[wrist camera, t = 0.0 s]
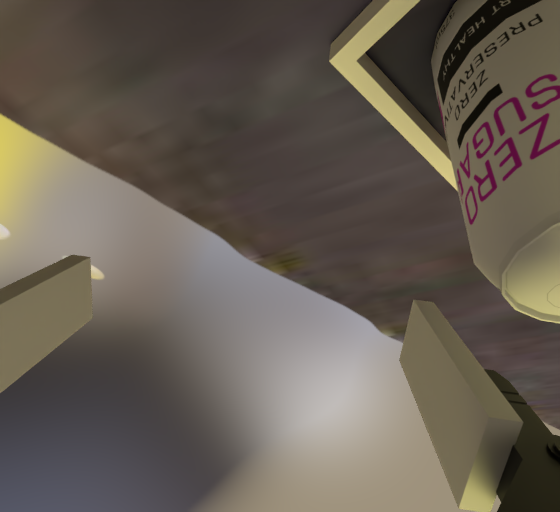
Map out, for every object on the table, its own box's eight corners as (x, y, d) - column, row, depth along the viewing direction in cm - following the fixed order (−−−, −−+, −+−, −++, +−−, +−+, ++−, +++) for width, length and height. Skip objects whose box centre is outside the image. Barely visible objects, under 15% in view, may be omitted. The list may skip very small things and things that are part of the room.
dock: (330, 44, 21) (324, 102, 18) (630, -268, 12) (738, -276, 9) (459, 178, 28) (474, 241, 24) (720, 34, 19) (805, 100, 15)
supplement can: (578, 96, 22) (728, 333, 13) (426, 118, 24) (465, 332, 15) (644, -83, 16) (1012, 130, 7) (433, -31, 18) (504, 180, 9)
